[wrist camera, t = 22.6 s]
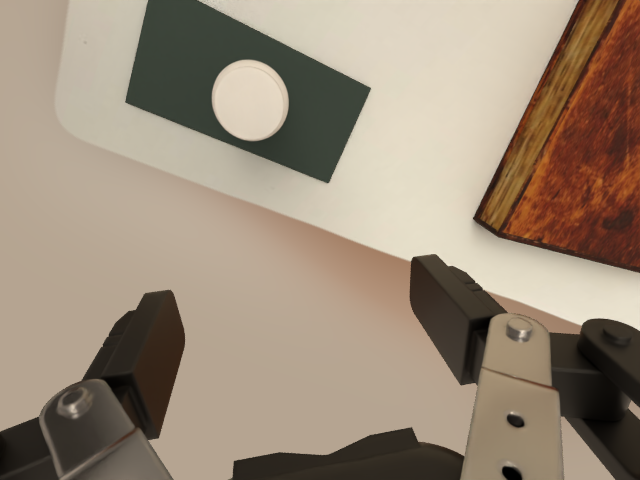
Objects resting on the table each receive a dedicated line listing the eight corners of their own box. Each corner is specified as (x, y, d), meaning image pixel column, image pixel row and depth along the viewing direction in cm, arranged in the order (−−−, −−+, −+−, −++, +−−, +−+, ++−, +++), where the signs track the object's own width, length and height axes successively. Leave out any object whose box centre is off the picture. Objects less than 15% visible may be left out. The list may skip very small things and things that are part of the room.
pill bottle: (235, 49, 31) (224, 38, 22) (294, 81, 33) (307, 84, 24) (211, 112, 33) (193, 125, 24) (269, 139, 35) (272, 161, 26)
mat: (126, 101, 32) (125, 102, 31) (154, -21, 29) (153, -22, 28) (327, 182, 38) (328, 183, 37) (370, 88, 34) (371, 88, 34)
